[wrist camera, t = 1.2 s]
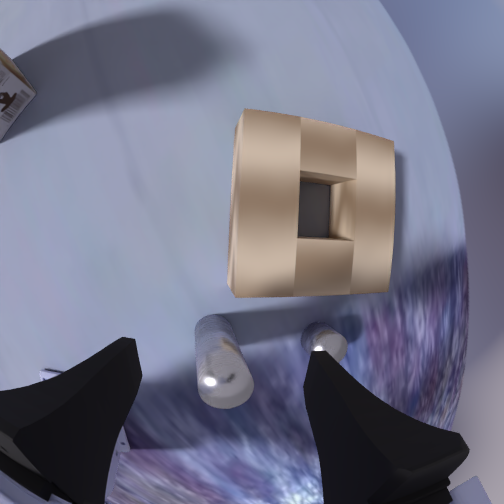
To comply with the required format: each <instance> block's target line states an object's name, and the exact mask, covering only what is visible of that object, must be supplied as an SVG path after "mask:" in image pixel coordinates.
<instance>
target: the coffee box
mask: <svg viewBox="0 0 504 504" xmlns="http://www.w3.org/2000/svg"><path fill="white" fill-rule="evenodd" d="M35 95H36V91H35V90H34V88H33V87H32V86H31V84H30V83H29V82H28V80H27V79H26V78H25V76H24V75H23V74H22V72H21V71H20V70H19V68H18V67H17V66H16V65H15V63H14V62H13V60H12V59H11V58H10V57H9V56H7V55H6V54H5V53H4V52H3V51H2V50H1V49H0V141H1V139H2V138H3V136H4V135H5V134H6V132H7V131H8V129H9V128H10V127H11V125H12V124H13V123H14V121H15V120H16V119H17V117H18V116H19V115H20V113H21V112H22V111H23V110H24V108H25V107H26V106H27V105H28V103H29V102H30V101H31V100H32V99H33V98H34V97H35Z"/></svg>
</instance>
